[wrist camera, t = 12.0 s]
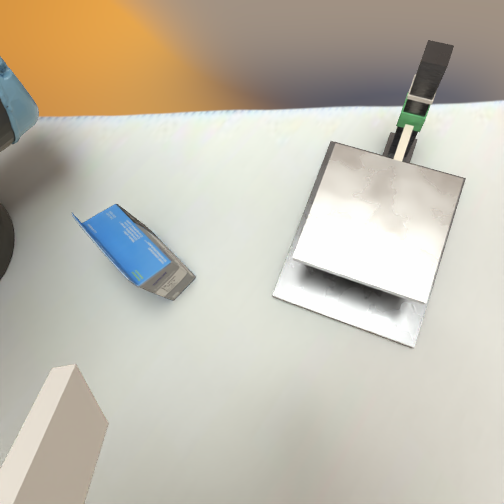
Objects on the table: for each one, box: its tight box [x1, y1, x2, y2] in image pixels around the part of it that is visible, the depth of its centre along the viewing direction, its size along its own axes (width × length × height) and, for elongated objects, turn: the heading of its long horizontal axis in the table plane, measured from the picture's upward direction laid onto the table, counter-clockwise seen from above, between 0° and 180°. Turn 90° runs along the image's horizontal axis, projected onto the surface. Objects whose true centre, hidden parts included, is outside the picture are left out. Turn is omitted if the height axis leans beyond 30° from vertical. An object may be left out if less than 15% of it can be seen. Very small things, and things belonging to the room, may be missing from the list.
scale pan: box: [293, 124, 464, 305], centre depth 43 cm, size 12×16×7 cm
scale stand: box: [272, 40, 465, 348], centre depth 40 cm, size 15×22×16 cm
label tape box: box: [72, 204, 196, 300], centre depth 44 cm, size 9×4×12 cm, turn 44°
